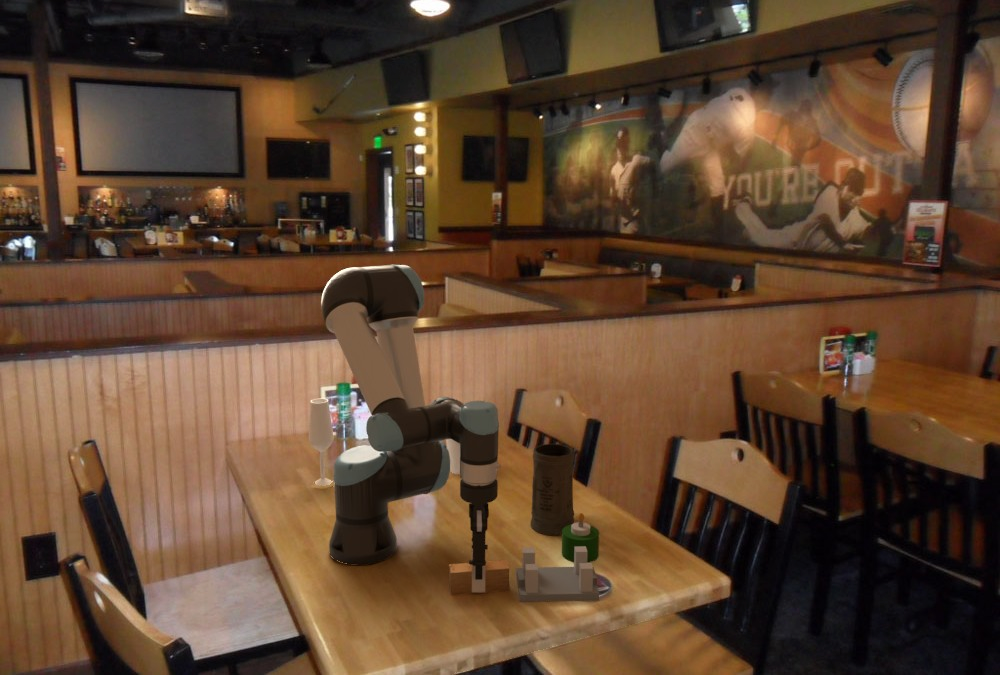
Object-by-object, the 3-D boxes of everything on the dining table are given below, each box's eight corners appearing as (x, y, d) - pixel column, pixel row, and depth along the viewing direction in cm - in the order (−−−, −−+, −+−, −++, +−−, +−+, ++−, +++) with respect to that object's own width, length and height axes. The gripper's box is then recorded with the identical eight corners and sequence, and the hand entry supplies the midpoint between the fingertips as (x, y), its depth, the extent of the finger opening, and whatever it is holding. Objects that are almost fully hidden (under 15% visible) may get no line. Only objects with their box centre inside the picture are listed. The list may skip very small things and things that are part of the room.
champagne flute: (332, 489, 210) (328, 404, 205) (307, 489, 210) (303, 404, 205) (338, 480, 216) (334, 397, 211) (314, 479, 216) (310, 397, 212)
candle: (560, 545, 178) (561, 504, 176) (596, 546, 178) (598, 505, 176) (562, 562, 170) (563, 520, 168) (600, 563, 170) (601, 521, 168)
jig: (519, 601, 154) (519, 571, 153) (516, 574, 165) (516, 546, 164) (599, 600, 155) (600, 570, 153) (590, 572, 166) (591, 544, 164)
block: (451, 595, 156) (450, 573, 155) (449, 586, 160) (449, 564, 159) (509, 590, 158) (509, 568, 157) (506, 581, 162) (506, 559, 161)
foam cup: (483, 468, 225) (483, 426, 222) (465, 479, 217) (465, 435, 215) (457, 462, 230) (456, 420, 227) (438, 472, 222) (437, 429, 220)
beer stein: (571, 538, 181) (574, 456, 178) (526, 534, 183) (528, 452, 180) (578, 515, 196) (580, 439, 193) (536, 512, 198) (538, 436, 195)
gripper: (499, 495, 146) (498, 607, 151) (496, 463, 162) (495, 565, 167) (459, 496, 146) (459, 608, 151) (460, 463, 162) (460, 565, 167)
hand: (478, 585), depth 159 cm, fingers closed on block, 4 cm apart
